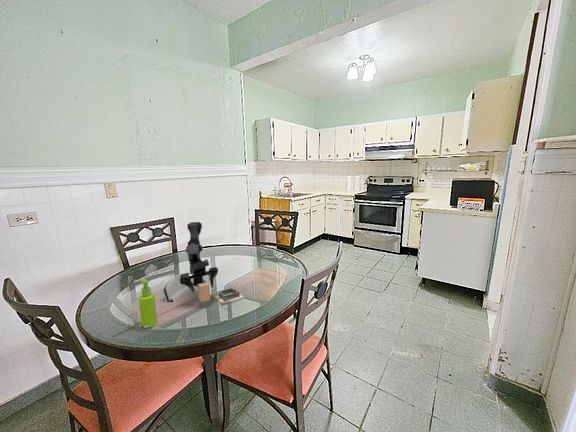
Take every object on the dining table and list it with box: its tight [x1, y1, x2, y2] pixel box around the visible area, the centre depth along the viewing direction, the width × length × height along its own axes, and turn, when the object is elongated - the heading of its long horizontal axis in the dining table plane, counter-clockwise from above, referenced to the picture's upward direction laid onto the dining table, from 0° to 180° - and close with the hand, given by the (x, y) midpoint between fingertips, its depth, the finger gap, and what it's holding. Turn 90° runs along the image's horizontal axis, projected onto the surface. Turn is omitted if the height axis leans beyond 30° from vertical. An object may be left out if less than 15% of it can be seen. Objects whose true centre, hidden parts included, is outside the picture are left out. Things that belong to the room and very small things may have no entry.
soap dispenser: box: [138, 278, 158, 327], centre depth 108 cm, size 6×7×20 cm
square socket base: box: [213, 287, 245, 306], centre depth 133 cm, size 12×12×4 cm
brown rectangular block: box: [197, 281, 212, 309], centre depth 125 cm, size 4×4×11 cm
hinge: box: [161, 277, 191, 303], centre depth 139 cm, size 17×5×10 cm, turn 172°
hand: (203, 289), depth 125 cm, fingers open, 9 cm apart
